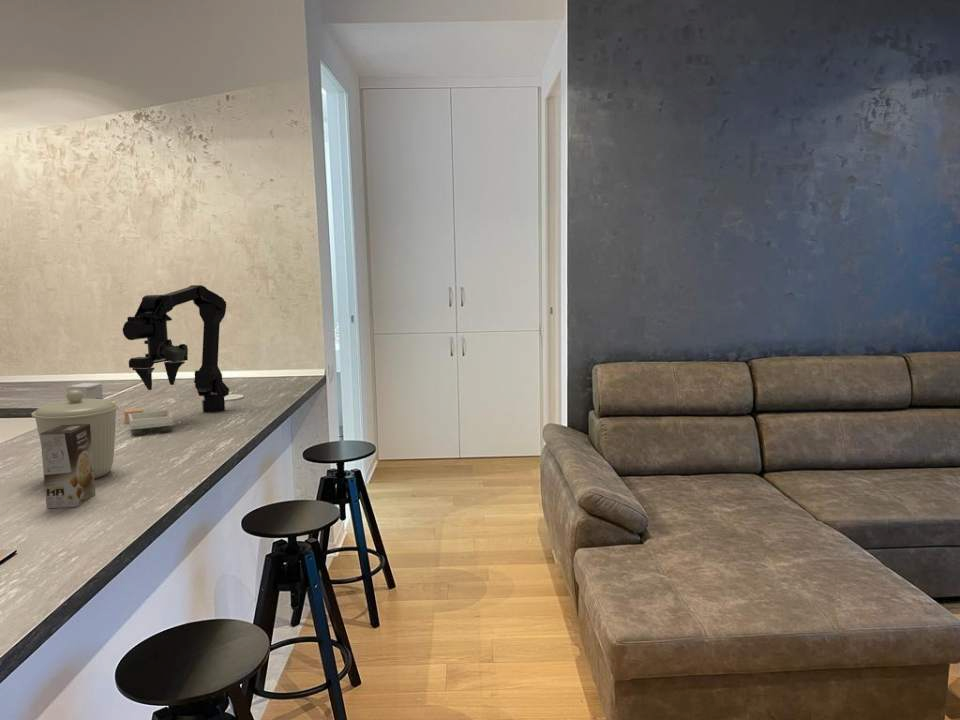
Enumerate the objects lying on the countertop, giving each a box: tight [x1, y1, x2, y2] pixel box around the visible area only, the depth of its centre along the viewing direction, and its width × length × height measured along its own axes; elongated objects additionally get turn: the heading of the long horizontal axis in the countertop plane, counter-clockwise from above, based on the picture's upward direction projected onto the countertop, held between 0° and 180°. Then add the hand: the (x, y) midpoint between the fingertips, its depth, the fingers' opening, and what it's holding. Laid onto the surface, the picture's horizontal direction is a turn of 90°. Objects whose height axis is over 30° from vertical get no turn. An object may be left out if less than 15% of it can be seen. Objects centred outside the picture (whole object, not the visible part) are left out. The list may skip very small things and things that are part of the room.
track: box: [130, 422, 209, 437], centre depth 219 cm, size 21×12×1 cm, turn 119°
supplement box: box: [66, 382, 104, 399], centre depth 232 cm, size 7×7×13 cm
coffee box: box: [40, 424, 96, 509], centre depth 155 cm, size 9×6×16 cm
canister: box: [31, 390, 119, 480], centre depth 173 cm, size 18×18×21 cm
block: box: [123, 407, 144, 425], centre depth 229 cm, size 5×5×5 cm
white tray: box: [128, 409, 174, 437], centre depth 216 cm, size 11×11×5 cm
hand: (161, 387), depth 223 cm, fingers open, 9 cm apart
